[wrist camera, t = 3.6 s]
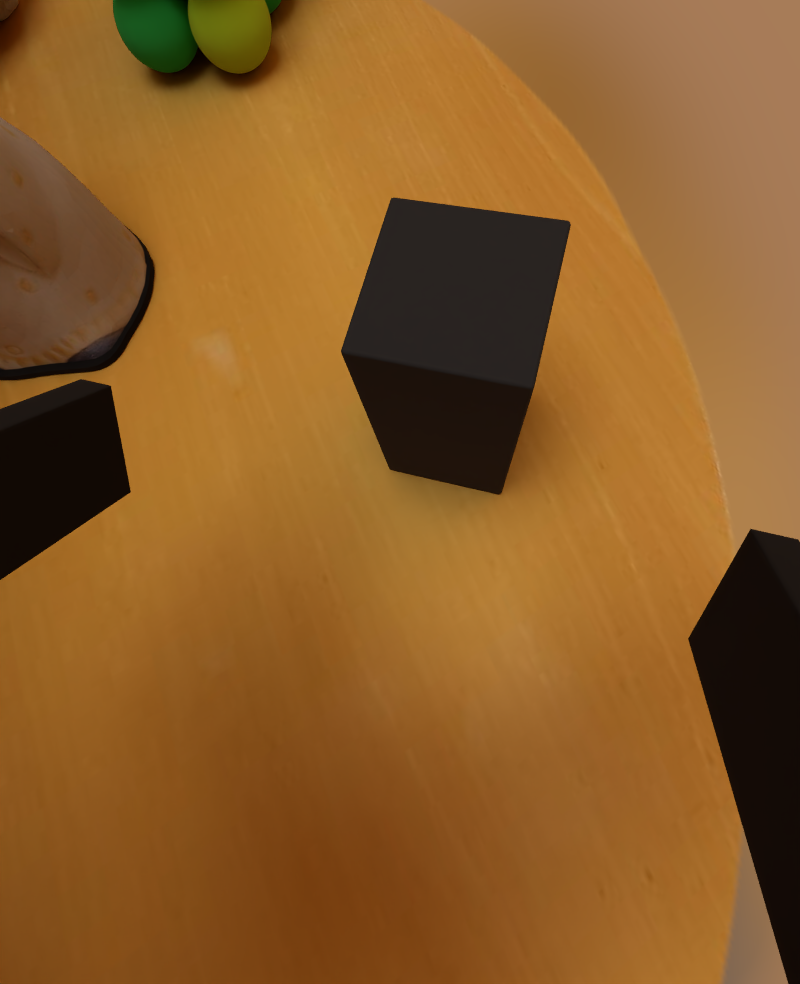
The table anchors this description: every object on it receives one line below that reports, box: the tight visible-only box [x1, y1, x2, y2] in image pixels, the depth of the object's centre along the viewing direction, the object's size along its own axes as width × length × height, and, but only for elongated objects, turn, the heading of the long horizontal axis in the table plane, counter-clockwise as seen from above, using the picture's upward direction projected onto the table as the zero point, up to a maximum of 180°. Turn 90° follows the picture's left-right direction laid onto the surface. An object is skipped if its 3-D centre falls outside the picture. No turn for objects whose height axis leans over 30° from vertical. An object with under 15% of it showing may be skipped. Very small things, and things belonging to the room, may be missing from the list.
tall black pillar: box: [341, 198, 571, 494], centre depth 18 cm, size 5×5×10 cm
